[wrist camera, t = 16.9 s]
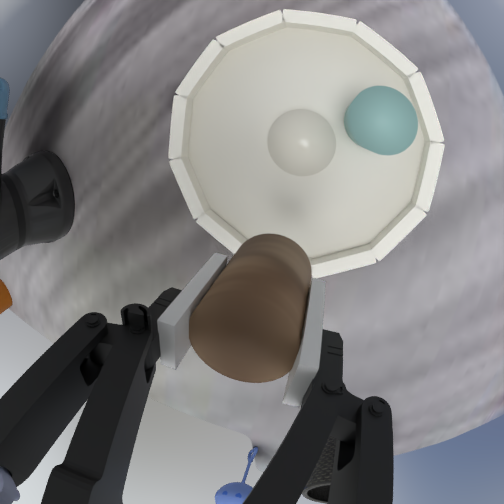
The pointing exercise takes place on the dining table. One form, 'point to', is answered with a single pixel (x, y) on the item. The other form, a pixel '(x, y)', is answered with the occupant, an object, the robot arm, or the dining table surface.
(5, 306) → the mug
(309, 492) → the planter
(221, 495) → the baby rattle
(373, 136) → the teal cylinder
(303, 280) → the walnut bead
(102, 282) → the dining table surface
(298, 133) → the round cream tray
